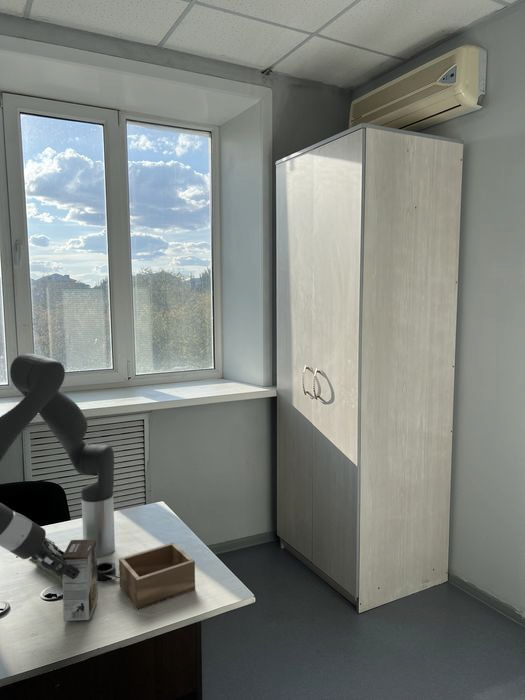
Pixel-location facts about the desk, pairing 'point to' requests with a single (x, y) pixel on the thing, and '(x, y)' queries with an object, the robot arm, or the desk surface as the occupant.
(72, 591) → the coffee box
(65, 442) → the robot arm
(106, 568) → the black wing nut
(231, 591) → the desk surface
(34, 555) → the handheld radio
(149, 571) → the walled box
